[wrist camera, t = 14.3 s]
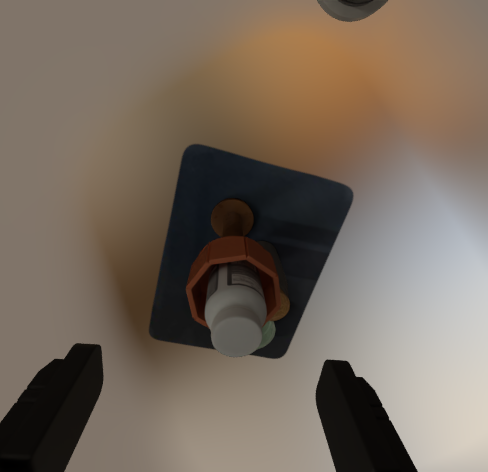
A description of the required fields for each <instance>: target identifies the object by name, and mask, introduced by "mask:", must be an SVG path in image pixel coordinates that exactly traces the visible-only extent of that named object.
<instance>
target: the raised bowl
mask: <svg viewBox="0 0 488 472" xmlns="http://www.w3.org/2000/svg"><path fill="white" fill-rule="evenodd" d="M240 260H247V261H249V262H250V263H252V264H253V265H255V266H256V267H258V270H259V274H260V279H261V284H262V289H263V293H264V298H265V303H266V309H267V315H266V320H265V323H264V325H265V324H266V323H267V322H268V321H269V320H270V319H271V318H272V317H273V316H274V314H275V313H276V312H277V311H278V310H279V309H280V306H281V296H280V287H279V277H278V274H277V270H276V267H275V264H274V260H273V257H272V256H271V253H269V252H268V251H266V250H265V249H264V248H263V246H261V245H260V244H259V243H257V242H256V241H254V240H252V239H250V238H247V237H244V236H226V237H222V238H219V239H216V240H213V241H212V242H209V243H208V245H207V246H205V247H204V248H203V250H202V251H201V252H200V254H199V255H198V257H197V259H196V260H195V261H194V263H193V264H192V267H191V271H190V275H189V279H188V283H187V287H186V292H187V296H188V300H189V304H190V308H191V312H192V316H193V318H195V321H197V322H199V323H201V324H202V325H204V326H206V327H208V325H207V323H206V320H205V305H206V298H207V289H208V280H209V273H210V269H211V267H212V265H213V264H219V263H226V262H233V261H240ZM264 325H263V326H264ZM263 326H262V327H263ZM208 328H209V327H208Z"/></svg>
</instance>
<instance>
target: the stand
mask: <svg viewBox="0 0 488 472" xmlns="http://www.w3.org/2000/svg"><path fill="white" fill-rule="evenodd" d="M253 221H254V218H253V213H252V210H251V208H250V207H249V205H248V204H247V203H246V202H244V201H242V200H240V199H237V198H228V199H224V200H222V201H220V202H219V203H218V204H217V205H216V206H215V207H214V209H213V211H212V215H211V224H212V227H213V229H214V231H215V232H216V233H217V234H218V235H219V236H221V237H226V236H245V235H247V234H248V233H249V231H250V230H251V228H252V226H253Z"/></svg>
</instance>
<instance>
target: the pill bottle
mask: <svg viewBox="0 0 488 472" xmlns="http://www.w3.org/2000/svg"><path fill="white" fill-rule="evenodd" d="M266 315H267V309H266V303H265V298H264V293H263V289H262V284H261V279H260V274H259V270H258V267H256V266H255V265H253V264H252V263H250V262H249V261H247V260H240V261H233V262H226V263H219V264H213V265H212V267H211V269H210V273H209V280H208V289H207V298H206V305H205V320H206V323H207V325H208V327H209V328H210V330H211V339H212V343H213V346H214V347H215V349H216V350H217V351H219V352H220V353H222V354H224V355H226V356H229V357H242V356H246V355H249V354H251V353H252V352H254V351H255V350H256V349H257V348H258V347H259V345H260V343H261V341H262V326H263V325H264V323H265V320H266Z"/></svg>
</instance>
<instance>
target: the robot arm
mask: <svg viewBox="0 0 488 472" xmlns="http://www.w3.org/2000/svg"><path fill="white" fill-rule="evenodd" d="M338 1H339V2H341V3H342V4H344V5H347V6H352V7H358V6H363V5H366V4H368V3H370V2H372V1H374V0H338ZM102 385H103V364H102V351H101V346H100V345H97V344H96V345H95V344H81V343H77V344H75V345H74V346H73V347H72V348H71V350H70V351H69V353H68V354H67V356H66V357H65V358H64V359H54V360H53V361H52V362H50V363H49V364H48V365H46V366H45V367H44V368H42V369H41V370H40V371H39V372H38V373H37V374H36V376H35V377H34V378H33V380H32V381H31V382H30V384H29V385H28V386H27V389H26V390H24V392H23V393H22V394H21V396H20V397H19V399H18V401H17V403H15V404H14V405H13V406H12V408H11V409H10V411H9V412H8V413H7V415H6V416H5V417H4V419H3V420H2V421H1V423H0V472H64V471H65V469H66V466H67V465H68V462H69V460H70V458H71V456H72V454H73V451H74V449H75V447H76V445H77V443H78V441H79V439H80V436H81V434H82V432H83V430H84V428H85V426H86V424H87V422H88V419H89V417H90V415H91V413H92V411H93V409H94V406H95V404H96V402H97V400H98V398H99V395H100V392H101V389H102ZM316 405H317V409H318V413H319V416H320V419H321V423H322V426H323V429H324V433H325V436H326V439H327V442H328V446H329V449H330V452H331V456H332V459H333V462H334V466H335V469H336V472H418V471H417V469H416V468H415V466H414V464H413V462H412V460H411V458H410V456H409V454H408V452H407V451H406V449H405V447H404V445H403V443H402V441H401V439H400V437H399V435H398V434H397V432H396V430H395V428H394V426H393V424H392V422H391V421H390V420H389V417H388V415H387V413H386V411H385V409H384V408H383V407H382V403H381V401H380V400H379V398H378V396H377V394H376V392H375V390H374V389H373V388H372V387H371V386H370V385H369V384H368V383H367V382H366V381H365V379H364V378H363V377H356V376H355V374H354V372H353V369H352V367H351V365H350V364H349V362H347V361H341V360H326V361H325V362H324V365H323V368H322V372H321V375H320V378H319V382H318V385H317V388H316Z"/></svg>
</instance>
